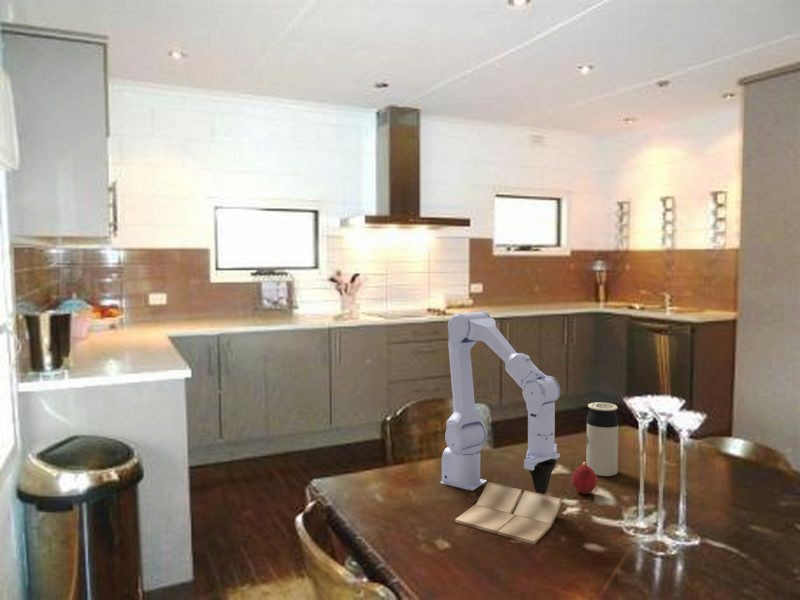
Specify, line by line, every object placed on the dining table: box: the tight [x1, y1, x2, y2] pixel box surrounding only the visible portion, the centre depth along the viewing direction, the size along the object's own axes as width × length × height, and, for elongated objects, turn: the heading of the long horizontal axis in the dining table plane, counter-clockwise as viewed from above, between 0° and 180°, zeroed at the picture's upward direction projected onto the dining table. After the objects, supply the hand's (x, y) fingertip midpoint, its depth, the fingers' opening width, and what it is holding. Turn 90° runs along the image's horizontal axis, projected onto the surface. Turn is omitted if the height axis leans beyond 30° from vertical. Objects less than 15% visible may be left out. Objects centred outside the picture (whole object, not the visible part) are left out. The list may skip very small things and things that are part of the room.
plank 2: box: [513, 490, 562, 526], centre depth 129 cm, size 8×7×1 cm
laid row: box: [454, 504, 552, 546], centre depth 125 cm, size 18×9×1 cm, turn 55°
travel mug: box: [585, 401, 619, 477], centre depth 156 cm, size 8×8×18 cm
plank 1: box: [475, 481, 523, 514], centre depth 134 cm, size 8×7×1 cm
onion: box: [571, 461, 598, 495], centre depth 141 cm, size 6×6×8 cm
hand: (540, 492), depth 130 cm, fingers closed
